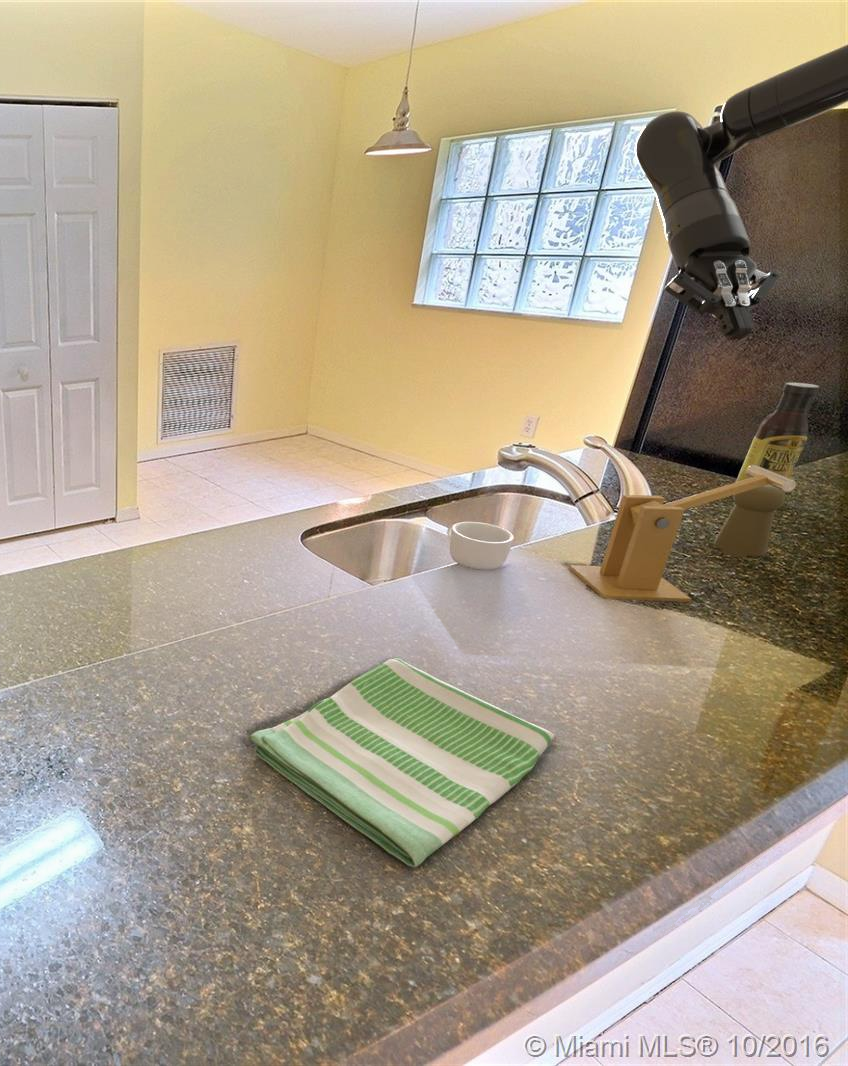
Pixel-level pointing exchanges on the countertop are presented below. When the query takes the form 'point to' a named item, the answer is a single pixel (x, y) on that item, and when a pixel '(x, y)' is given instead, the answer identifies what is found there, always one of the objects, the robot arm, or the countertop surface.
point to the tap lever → (727, 490)
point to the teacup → (479, 545)
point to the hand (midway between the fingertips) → (740, 335)
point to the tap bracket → (637, 554)
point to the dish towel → (404, 757)
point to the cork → (750, 522)
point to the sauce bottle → (782, 432)
